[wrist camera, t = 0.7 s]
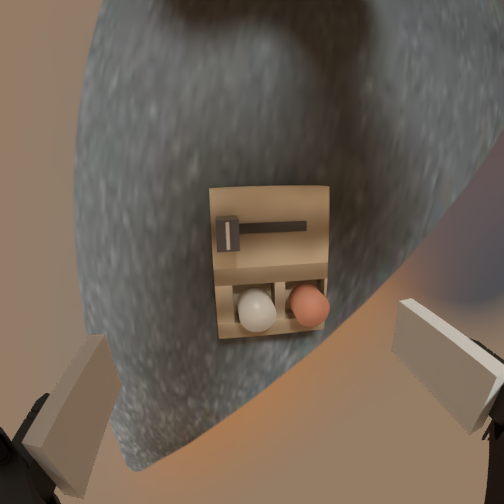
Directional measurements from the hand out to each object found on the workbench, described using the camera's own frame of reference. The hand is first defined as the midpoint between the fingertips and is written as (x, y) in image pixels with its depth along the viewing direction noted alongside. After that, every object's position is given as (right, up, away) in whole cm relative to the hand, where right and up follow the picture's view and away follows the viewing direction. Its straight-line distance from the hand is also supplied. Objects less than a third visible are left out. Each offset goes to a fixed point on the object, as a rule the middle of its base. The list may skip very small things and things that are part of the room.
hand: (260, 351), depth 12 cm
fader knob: (-3, +6, +17) cm, 18 cm away
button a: (+5, -1, +20) cm, 21 cm away
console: (+1, +4, +22) cm, 23 cm away
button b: (0, -1, +19) cm, 20 cm away
